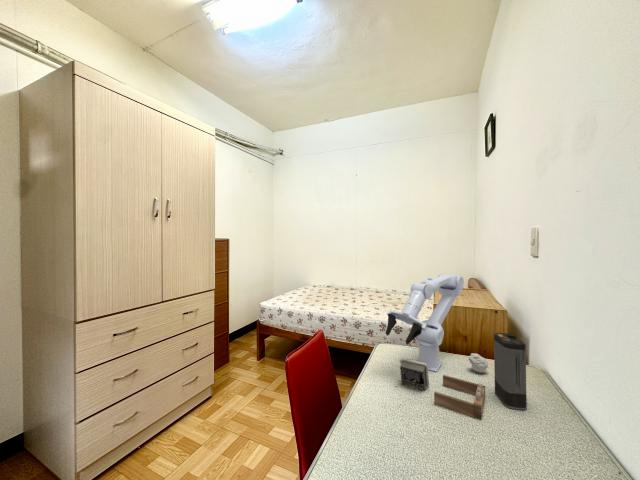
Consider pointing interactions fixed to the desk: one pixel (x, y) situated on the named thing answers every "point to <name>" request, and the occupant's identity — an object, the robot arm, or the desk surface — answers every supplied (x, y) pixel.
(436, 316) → the robot arm
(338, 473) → the desk surface
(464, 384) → the socket dock
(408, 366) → the electrical switch
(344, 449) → the desk surface
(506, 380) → the electronic device
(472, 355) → the grey rounded carved piece
